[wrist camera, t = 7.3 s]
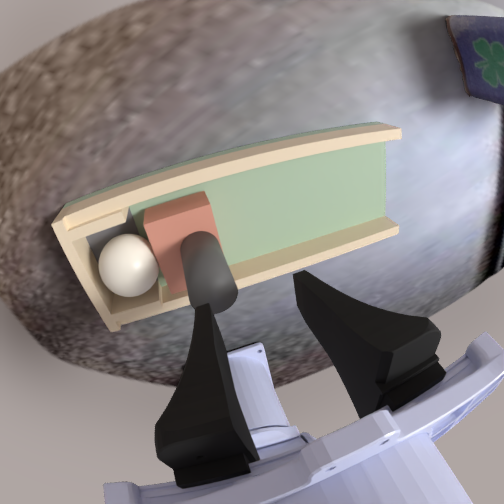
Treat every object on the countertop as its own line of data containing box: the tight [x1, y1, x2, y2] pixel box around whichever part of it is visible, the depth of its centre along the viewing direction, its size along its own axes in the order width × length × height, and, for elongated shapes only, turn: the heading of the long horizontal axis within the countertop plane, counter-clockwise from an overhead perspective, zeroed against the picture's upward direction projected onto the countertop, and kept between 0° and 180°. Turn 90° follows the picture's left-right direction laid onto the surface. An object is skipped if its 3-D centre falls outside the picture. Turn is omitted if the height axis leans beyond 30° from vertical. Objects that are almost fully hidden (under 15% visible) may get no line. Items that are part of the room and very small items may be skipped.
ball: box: [99, 234, 159, 297], centre depth 18 cm, size 4×4×4 cm
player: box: [144, 191, 238, 314], centre depth 17 cm, size 5×4×7 cm
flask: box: [446, 15, 504, 105], centre depth 15 cm, size 9×3×11 cm, turn 29°
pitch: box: [51, 122, 402, 332], centre depth 21 cm, size 9×24×4 cm, turn 100°
